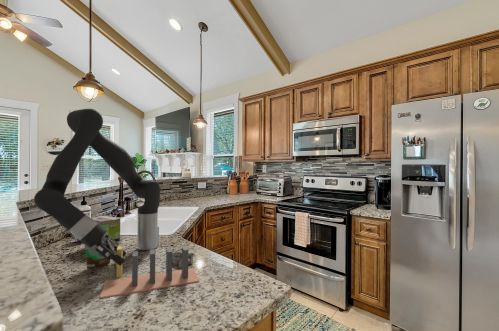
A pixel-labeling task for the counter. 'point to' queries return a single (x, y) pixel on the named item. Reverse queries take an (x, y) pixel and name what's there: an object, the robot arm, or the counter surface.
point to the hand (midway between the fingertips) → (123, 259)
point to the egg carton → (177, 257)
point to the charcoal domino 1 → (135, 269)
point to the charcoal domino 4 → (184, 262)
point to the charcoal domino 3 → (169, 264)
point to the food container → (95, 258)
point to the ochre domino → (120, 267)
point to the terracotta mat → (146, 283)
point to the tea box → (110, 226)
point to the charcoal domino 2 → (152, 266)
